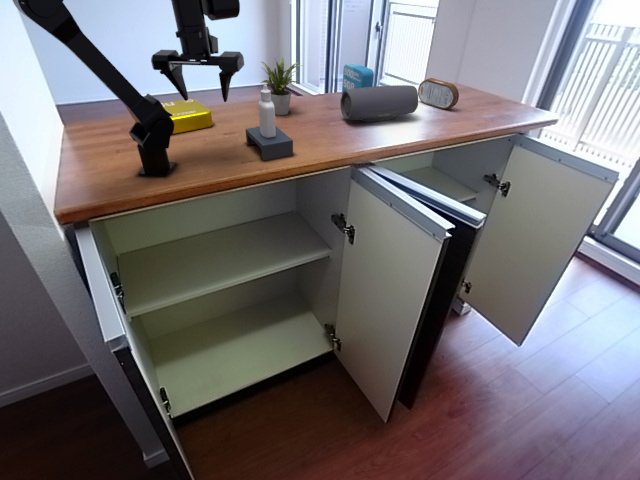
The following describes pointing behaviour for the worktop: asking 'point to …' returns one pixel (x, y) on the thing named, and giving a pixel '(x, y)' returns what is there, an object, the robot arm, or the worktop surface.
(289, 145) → the shelf
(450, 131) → the worktop surface
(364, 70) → the data package
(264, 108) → the eye dropper bottle
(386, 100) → the bluetooth speaker
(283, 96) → the house plant
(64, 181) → the worktop surface
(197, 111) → the element tile
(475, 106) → the worktop surface
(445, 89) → the tin
